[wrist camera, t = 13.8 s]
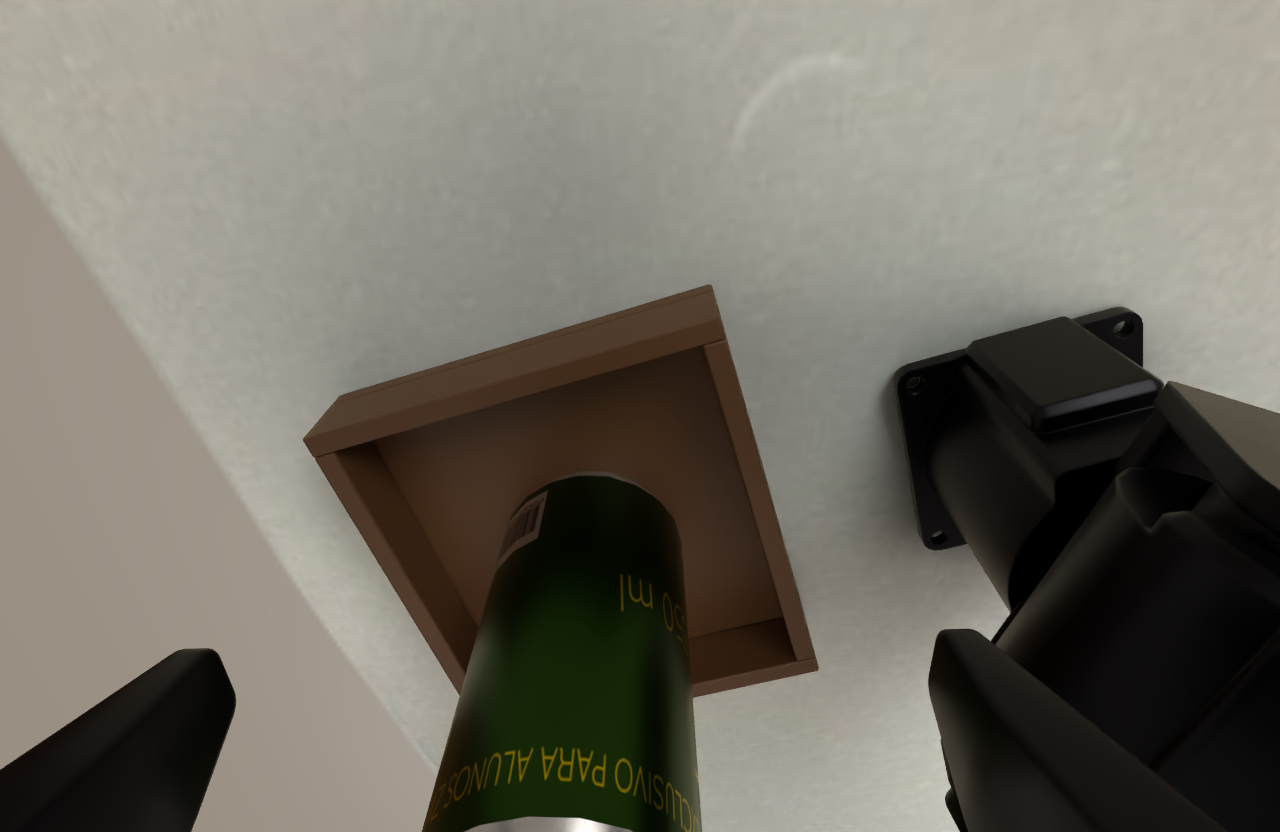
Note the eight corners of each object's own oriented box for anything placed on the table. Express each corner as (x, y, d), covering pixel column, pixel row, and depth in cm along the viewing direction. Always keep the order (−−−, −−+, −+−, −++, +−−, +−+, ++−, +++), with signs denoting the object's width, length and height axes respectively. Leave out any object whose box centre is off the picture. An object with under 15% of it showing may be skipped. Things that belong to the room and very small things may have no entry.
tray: (803, 612, 25) (819, 671, 23) (501, 681, 27) (487, 742, 24) (711, 283, 20) (719, 316, 17) (338, 395, 21) (301, 439, 19)
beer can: (480, 560, 23) (342, 1005, 13) (555, 432, 21) (463, 839, 10) (628, 623, 24) (615, 1077, 14) (713, 508, 22) (776, 942, 12)
